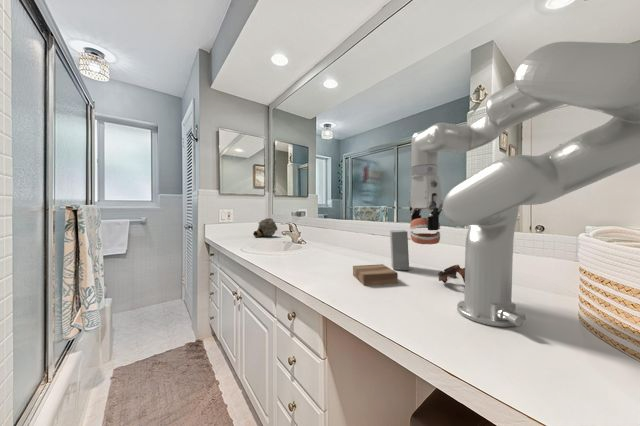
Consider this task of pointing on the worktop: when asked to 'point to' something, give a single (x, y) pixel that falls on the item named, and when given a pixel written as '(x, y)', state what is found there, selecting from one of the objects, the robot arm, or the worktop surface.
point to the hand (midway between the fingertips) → (424, 228)
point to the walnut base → (375, 274)
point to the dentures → (423, 237)
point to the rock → (265, 228)
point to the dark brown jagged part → (451, 273)
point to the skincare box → (399, 249)
